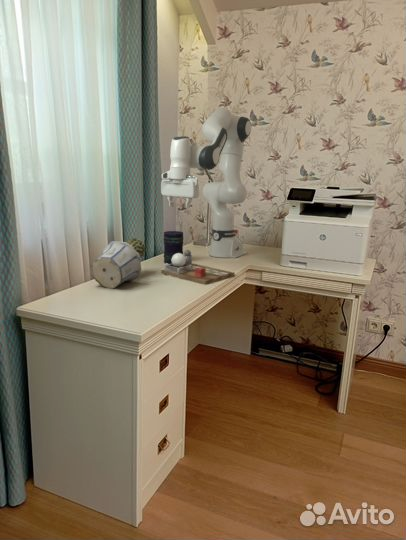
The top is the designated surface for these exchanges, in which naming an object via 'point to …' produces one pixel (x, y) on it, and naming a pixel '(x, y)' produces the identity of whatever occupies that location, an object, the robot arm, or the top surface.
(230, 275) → the board
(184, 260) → the white ball
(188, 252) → the pawn
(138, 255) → the potted plant
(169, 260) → the storage jar
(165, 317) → the top surface
